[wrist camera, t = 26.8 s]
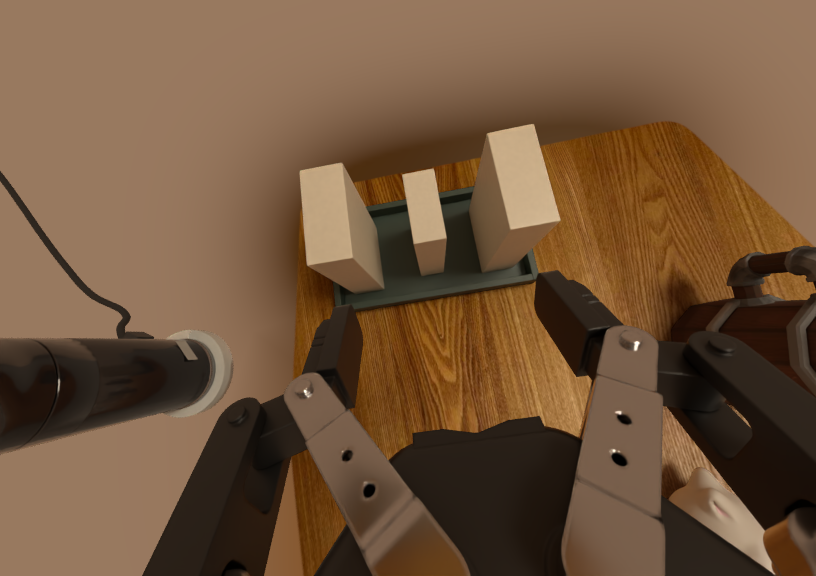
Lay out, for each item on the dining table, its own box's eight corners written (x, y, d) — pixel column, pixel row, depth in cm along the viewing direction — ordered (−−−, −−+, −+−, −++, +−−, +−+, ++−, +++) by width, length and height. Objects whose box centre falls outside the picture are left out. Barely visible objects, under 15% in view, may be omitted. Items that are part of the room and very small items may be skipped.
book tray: (342, 314, 39) (335, 312, 37) (332, 221, 42) (325, 214, 39) (533, 282, 38) (540, 278, 35) (510, 188, 40) (515, 178, 38)
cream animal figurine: (866, 752, 20) (797, 527, 21) (707, 687, 25) (658, 505, 26) (794, 617, 28) (747, 458, 29) (683, 586, 33) (646, 450, 34)
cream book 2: (481, 273, 38) (510, 229, 23) (468, 210, 40) (486, 132, 25) (512, 267, 38) (561, 220, 23) (497, 204, 39) (533, 123, 25)
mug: (800, 391, 32) (1101, 432, 18) (689, 410, 33) (889, 464, 19) (742, 260, 36) (957, 202, 21) (641, 279, 36) (781, 237, 22)
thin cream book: (421, 276, 39) (413, 244, 26) (413, 227, 40) (402, 174, 27) (443, 272, 38) (446, 238, 26) (434, 223, 40) (433, 168, 27)
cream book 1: (355, 294, 39) (306, 265, 24) (348, 232, 41) (299, 170, 26) (384, 289, 39) (352, 257, 24) (376, 227, 40) (342, 162, 26)
